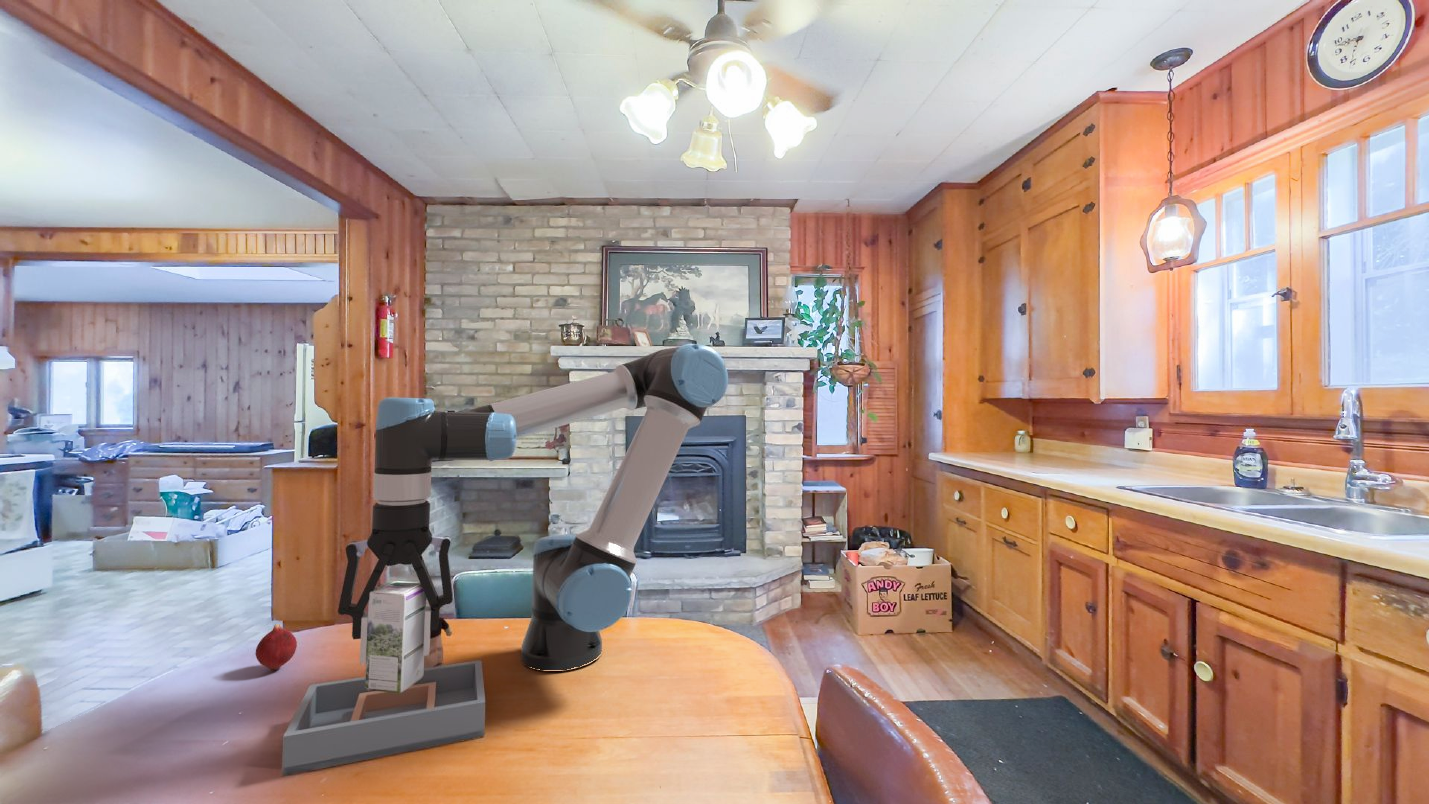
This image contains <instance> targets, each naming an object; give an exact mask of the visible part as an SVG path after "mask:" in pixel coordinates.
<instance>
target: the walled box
mask: <svg viewBox="0 0 1429 804" xmlns="http://www.w3.org/2000/svg"><path fill="white" fill-rule="evenodd" d="M482 664H483V663H482V660H480V659H479V660H473V661H472V660H471V661H466V662H465V661H464V662H457V663H451V664H444V665H443V666H436V667H430V668H424V675H423V677H422V678H421V679H420V680H418V681H417V682H416V683H414V684H413V685H412V686H410V687H409V688H408V689H406V690H405V691H403V692H402V693H394V692H382V691H371V690H365V680H366V676H362V677H355V678H348V679H340V680H334V681H327V682H321V683H320V682H319V683H313V684H310V685H309V686H308V688H307V690H306V692H305V694H304V696H303V698H302V700H301V701H300V703H299V705H298V707H297V709H296V712H295V713H294V715H293V717H292V720H290V723H289V725H288V727H287V728H286V731H285V732H284V734H283V736H282V760H281V761H282V762H281V777H284V776H292V775H295V774H301V773H305V772H307V773H308V772H310V771H311V772H312V771H316V770H320V769H321V770H322V769H326V768H332V767H337V766H341V765H345V764H346V765H347V764H348V765H349V764H352V763H358V762H362V761H367V760H372V759H378V758H384V757H388V756H393V755H398V754H404V753H409V752H413V751H419V750H424V749H428V748H434V747H437V746H438V747H440V746H444V745H443V744H445V745H449V744H448V743H450V744H453V743H460V742H463V741H462V740H465V741H469V739H470V740H474V738H475V739H479V738H478V737H480V738H484V737H485V723H486V695H485V687H484V686H485V685H484V684H485V683H484V675H483V665H482ZM458 741H459V742H458Z"/></svg>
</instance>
